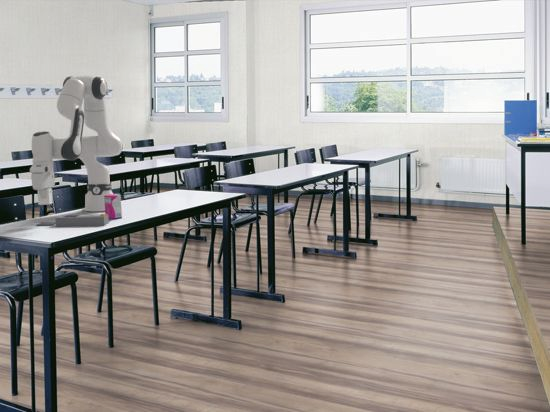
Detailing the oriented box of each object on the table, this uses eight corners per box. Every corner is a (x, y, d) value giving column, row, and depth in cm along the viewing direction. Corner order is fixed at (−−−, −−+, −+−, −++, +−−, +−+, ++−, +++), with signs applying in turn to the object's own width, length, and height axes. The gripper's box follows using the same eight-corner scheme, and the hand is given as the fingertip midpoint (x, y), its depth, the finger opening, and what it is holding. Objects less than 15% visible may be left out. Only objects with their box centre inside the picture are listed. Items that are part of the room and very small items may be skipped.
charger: (41, 203, 303) (40, 188, 302) (52, 203, 303) (51, 188, 302) (38, 204, 298) (37, 189, 298) (49, 204, 299) (48, 189, 298)
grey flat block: (66, 220, 312) (65, 210, 312) (112, 220, 312) (112, 210, 312) (55, 226, 296) (54, 215, 296) (104, 225, 296) (103, 215, 296)
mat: (41, 223, 306) (41, 222, 306) (56, 223, 306) (56, 222, 306) (36, 225, 299) (36, 224, 299) (51, 225, 299) (51, 224, 299)
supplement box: (114, 217, 322) (113, 193, 321) (122, 218, 319) (121, 194, 317) (104, 218, 318) (103, 195, 316) (112, 219, 314) (111, 195, 313)
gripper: (44, 166, 309) (45, 195, 311) (28, 169, 289) (30, 200, 290) (57, 166, 309) (59, 195, 311) (42, 169, 289) (44, 200, 290)
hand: (45, 197), depth 300 cm, fingers closed on charger, 4 cm apart
